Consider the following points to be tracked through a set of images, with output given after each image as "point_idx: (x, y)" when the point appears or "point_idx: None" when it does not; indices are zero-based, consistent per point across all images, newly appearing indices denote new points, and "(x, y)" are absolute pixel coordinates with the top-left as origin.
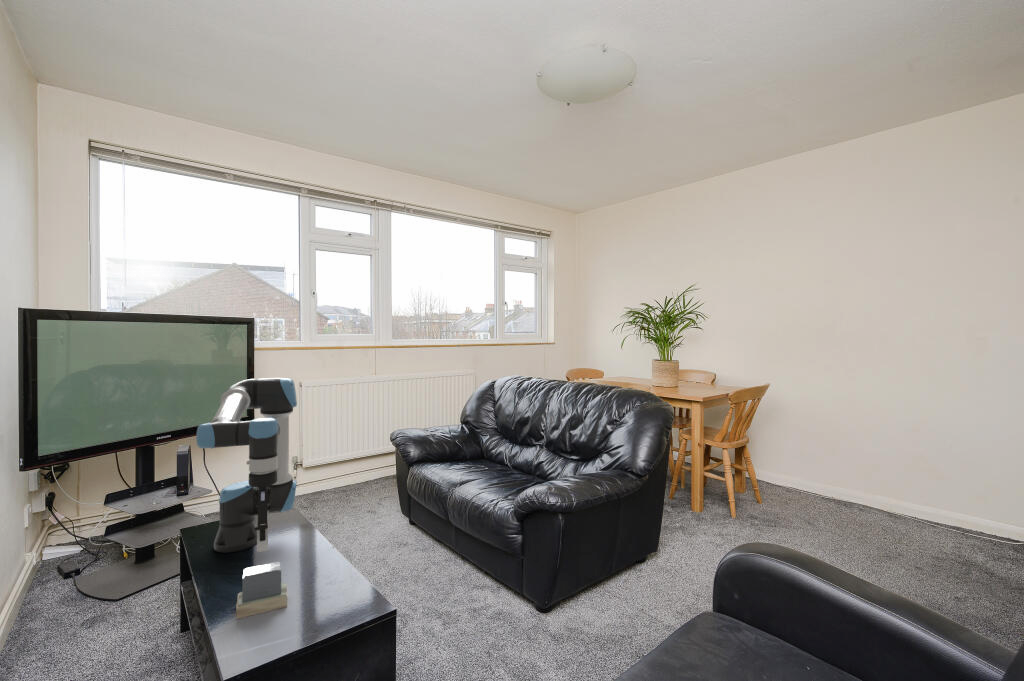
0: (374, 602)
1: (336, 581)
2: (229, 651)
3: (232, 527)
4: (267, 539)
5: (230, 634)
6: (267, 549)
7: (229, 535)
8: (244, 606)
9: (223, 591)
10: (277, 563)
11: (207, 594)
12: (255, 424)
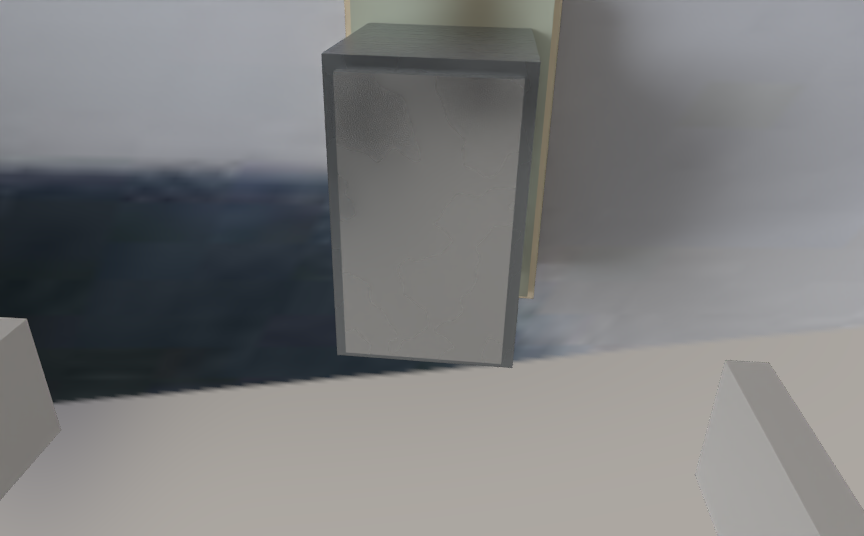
0: None
1: None
2: (837, 293)
3: None
4: (859, 508)
5: (670, 288)
6: (771, 375)
7: None
8: (535, 255)
9: (175, 318)
10: (370, 94)
11: (182, 381)
12: None
